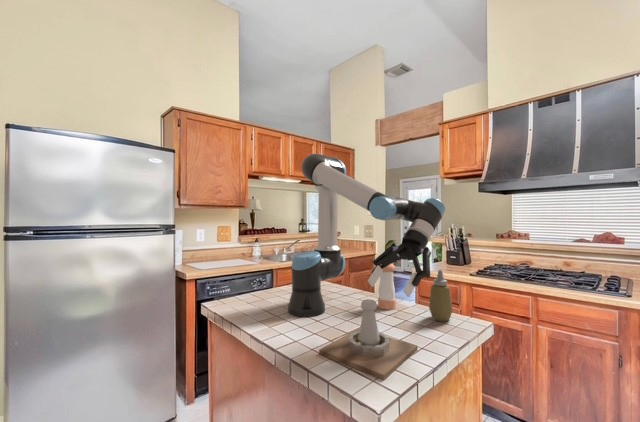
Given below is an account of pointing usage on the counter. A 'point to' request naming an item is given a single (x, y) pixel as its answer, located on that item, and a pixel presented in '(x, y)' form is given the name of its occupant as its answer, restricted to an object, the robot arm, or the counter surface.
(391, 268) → the pepper shaker
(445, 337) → the counter surface
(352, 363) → the collar board
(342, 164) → the robot arm
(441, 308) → the squeeze bottle
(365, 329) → the salt shaker
